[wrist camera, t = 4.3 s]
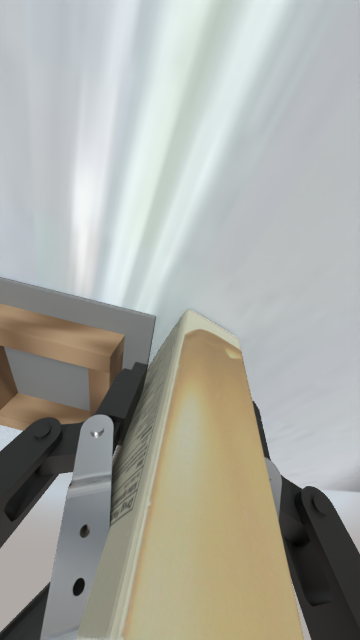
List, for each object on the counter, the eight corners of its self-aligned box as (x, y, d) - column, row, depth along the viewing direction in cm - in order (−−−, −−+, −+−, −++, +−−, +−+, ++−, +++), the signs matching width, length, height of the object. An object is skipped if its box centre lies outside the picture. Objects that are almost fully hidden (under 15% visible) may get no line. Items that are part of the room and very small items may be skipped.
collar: (124, 334, 15) (110, 356, 13) (117, 427, 21) (106, 452, 19) (-30, 296, 15) (-70, 311, 13) (7, 398, 21) (-16, 420, 19)
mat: (156, 316, 14) (154, 318, 14) (135, 438, 22) (134, 442, 22) (-60, 262, 15) (-66, 263, 14) (-3, 402, 23) (-6, 405, 22)
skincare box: (194, 387, 17) (165, 681, 7) (148, 363, 16) (35, 645, 6) (243, 334, 14) (341, 740, 3) (189, 302, 13) (101, 676, 3)
